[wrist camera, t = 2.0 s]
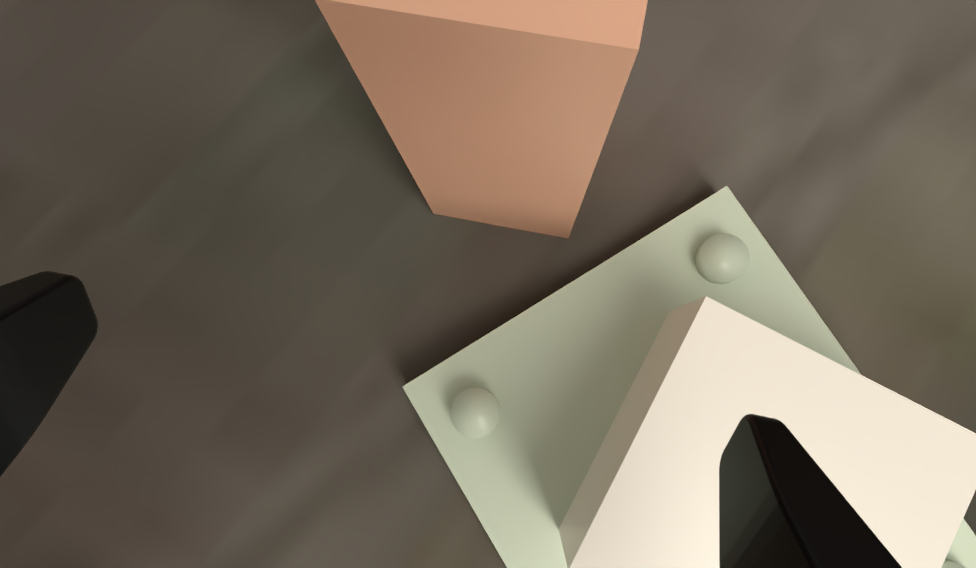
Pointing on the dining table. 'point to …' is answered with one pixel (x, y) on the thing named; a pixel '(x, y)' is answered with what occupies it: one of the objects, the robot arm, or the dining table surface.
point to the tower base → (589, 364)
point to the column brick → (494, 97)
